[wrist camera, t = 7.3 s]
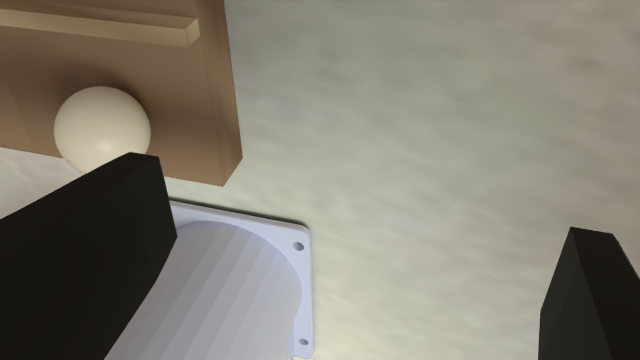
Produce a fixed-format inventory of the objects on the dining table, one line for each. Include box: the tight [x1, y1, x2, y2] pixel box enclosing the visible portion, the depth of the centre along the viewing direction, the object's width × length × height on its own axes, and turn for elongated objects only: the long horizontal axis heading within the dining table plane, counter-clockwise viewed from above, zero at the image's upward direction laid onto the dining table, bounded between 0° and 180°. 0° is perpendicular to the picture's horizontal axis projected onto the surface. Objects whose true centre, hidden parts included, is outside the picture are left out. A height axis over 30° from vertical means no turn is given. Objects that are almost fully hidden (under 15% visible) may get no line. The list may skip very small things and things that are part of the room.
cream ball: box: [54, 86, 151, 174], centre depth 20 cm, size 3×3×3 cm
